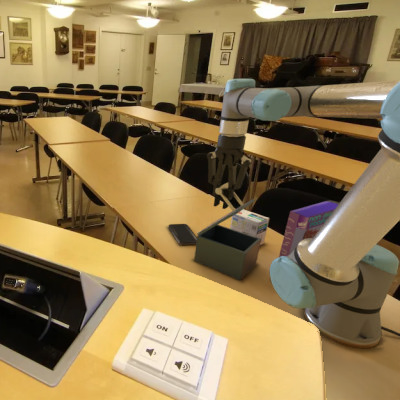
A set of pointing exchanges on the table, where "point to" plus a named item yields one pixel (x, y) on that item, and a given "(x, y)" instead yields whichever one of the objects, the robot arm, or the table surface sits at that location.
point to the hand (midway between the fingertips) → (220, 206)
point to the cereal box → (305, 224)
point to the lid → (220, 191)
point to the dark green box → (227, 251)
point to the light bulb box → (250, 224)
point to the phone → (183, 234)
